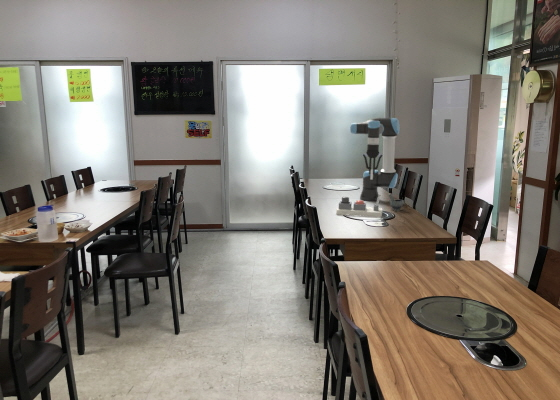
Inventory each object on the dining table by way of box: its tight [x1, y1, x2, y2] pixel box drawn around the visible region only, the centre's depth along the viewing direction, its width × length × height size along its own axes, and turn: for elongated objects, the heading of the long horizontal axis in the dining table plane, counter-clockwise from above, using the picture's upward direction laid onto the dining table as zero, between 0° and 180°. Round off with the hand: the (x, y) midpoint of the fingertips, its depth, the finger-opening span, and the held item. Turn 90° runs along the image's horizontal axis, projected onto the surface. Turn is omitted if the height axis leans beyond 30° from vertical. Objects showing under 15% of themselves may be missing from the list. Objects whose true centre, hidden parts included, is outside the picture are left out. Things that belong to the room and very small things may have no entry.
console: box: [335, 200, 383, 218], centre depth 311 cm, size 16×30×7 cm, turn 76°
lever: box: [375, 194, 381, 206], centre depth 308 cm, size 4×1×10 cm, turn 166°
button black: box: [341, 196, 350, 204], centre depth 313 cm, size 5×5×5 cm
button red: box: [355, 199, 365, 204], centre depth 311 cm, size 5×5×5 cm
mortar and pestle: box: [387, 192, 405, 212], centre depth 323 cm, size 11×9×12 cm
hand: (371, 179), depth 306 cm, fingers closed
